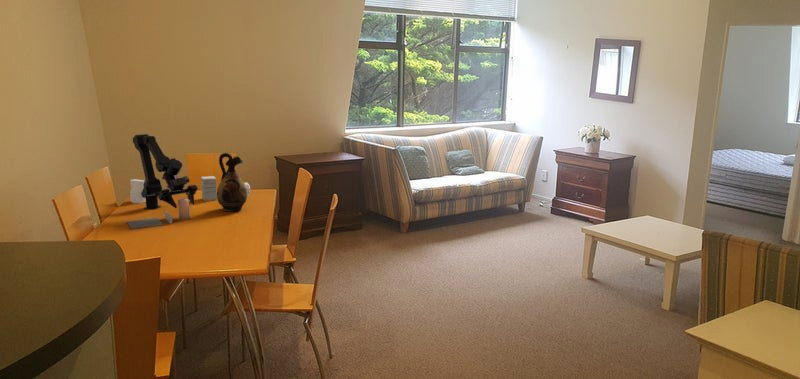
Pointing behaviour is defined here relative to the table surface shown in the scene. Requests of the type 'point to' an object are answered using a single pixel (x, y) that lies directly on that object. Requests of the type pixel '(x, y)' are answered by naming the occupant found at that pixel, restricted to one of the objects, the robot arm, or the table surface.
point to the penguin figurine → (247, 188)
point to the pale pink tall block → (184, 209)
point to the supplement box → (209, 188)
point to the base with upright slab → (137, 191)
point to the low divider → (168, 217)
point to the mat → (144, 223)
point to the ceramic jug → (231, 185)
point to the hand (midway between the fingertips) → (185, 206)
